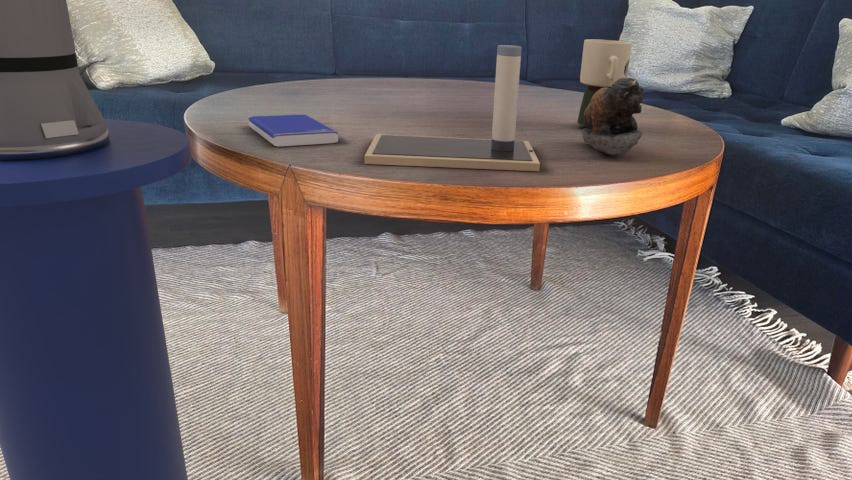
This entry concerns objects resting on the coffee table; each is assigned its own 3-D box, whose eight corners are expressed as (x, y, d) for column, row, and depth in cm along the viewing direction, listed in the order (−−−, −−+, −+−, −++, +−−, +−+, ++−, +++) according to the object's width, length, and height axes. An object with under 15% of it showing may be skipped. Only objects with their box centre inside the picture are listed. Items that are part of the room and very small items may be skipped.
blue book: (338, 130, 81) (307, 113, 91) (272, 134, 77) (247, 116, 87) (338, 142, 82) (308, 124, 92) (273, 147, 78) (248, 127, 88)
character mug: (629, 136, 97) (643, 45, 92) (583, 134, 96) (594, 42, 91) (609, 122, 107) (620, 39, 102) (567, 121, 106) (576, 37, 101)
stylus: (486, 148, 79) (492, 44, 74) (503, 145, 81) (510, 44, 76) (501, 152, 77) (508, 47, 72) (518, 150, 79) (526, 47, 74)
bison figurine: (570, 141, 91) (578, 67, 87) (618, 142, 92) (628, 69, 88) (595, 162, 80) (605, 78, 76) (649, 163, 81) (662, 80, 77)
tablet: (364, 164, 73) (364, 154, 72) (376, 141, 84) (376, 133, 84) (539, 171, 74) (540, 162, 74) (528, 148, 85) (528, 140, 85)
